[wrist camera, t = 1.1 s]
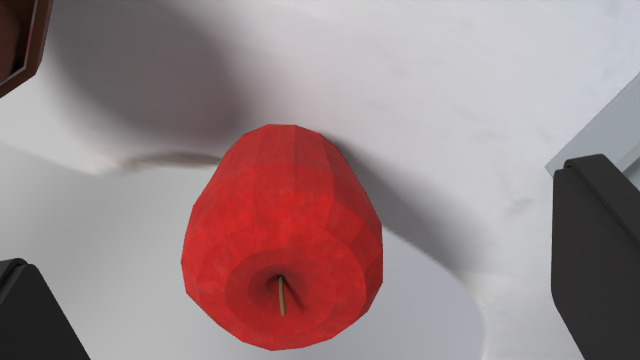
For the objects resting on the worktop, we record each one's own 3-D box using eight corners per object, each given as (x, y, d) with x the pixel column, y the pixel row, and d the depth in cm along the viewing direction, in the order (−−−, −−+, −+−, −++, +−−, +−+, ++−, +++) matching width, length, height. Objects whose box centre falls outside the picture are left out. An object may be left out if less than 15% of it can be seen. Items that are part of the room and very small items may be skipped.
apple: (388, 126, 37) (430, 258, 26) (333, 246, 42) (347, 403, 30) (230, 76, 35) (197, 194, 23) (191, 208, 40) (147, 361, 28)
